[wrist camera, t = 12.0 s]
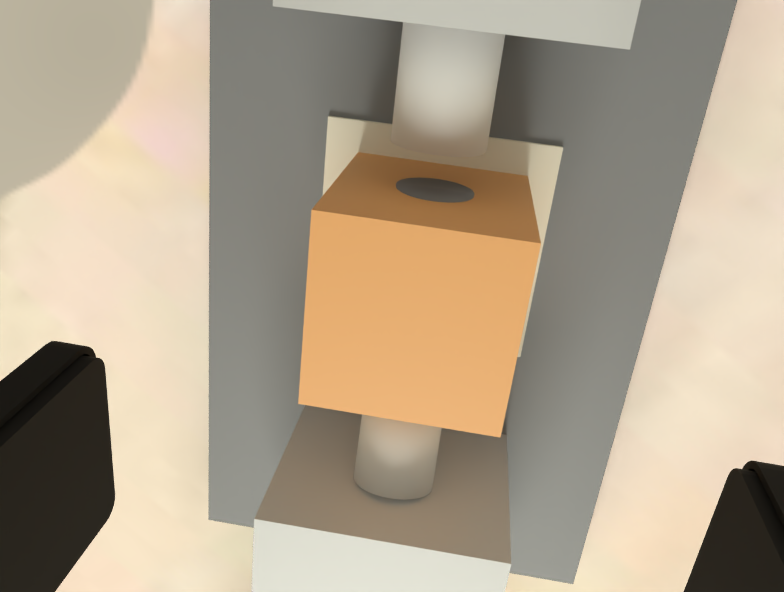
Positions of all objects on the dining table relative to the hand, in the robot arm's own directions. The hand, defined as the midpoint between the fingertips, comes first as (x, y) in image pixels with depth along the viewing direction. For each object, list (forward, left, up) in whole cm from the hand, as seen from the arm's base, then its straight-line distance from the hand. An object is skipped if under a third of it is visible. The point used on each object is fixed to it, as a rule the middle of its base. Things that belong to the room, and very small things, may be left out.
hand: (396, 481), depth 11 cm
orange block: (0, 0, -12) cm, 12 cm away
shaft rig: (0, 0, -14) cm, 14 cm away
